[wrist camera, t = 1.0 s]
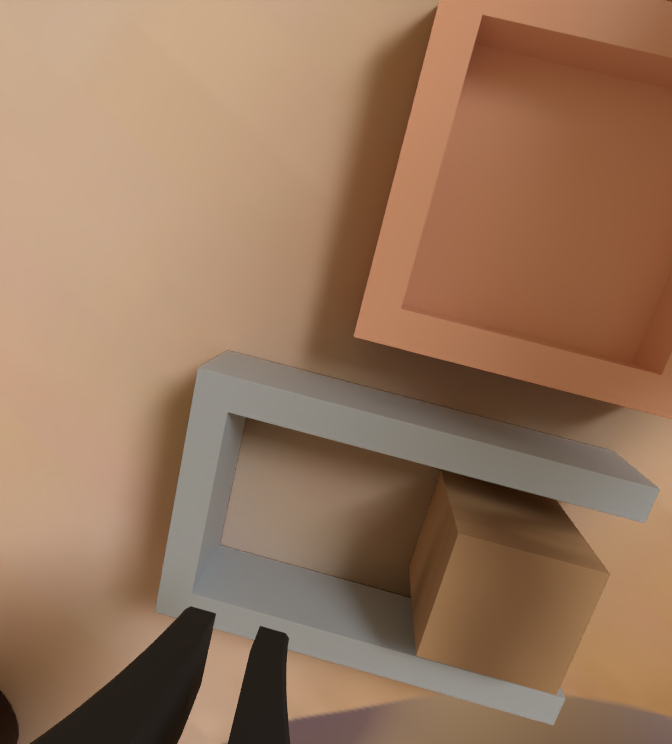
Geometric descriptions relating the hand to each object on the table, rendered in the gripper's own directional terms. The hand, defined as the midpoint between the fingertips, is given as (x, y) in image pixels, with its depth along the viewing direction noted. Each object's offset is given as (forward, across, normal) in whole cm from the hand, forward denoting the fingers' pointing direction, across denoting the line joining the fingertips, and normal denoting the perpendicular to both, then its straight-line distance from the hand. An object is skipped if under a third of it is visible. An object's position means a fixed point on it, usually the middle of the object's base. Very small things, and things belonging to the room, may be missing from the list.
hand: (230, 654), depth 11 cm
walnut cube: (+8, -8, 0) cm, 11 cm away
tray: (+8, -6, -12) cm, 16 cm away
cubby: (+8, -4, 0) cm, 9 cm away
